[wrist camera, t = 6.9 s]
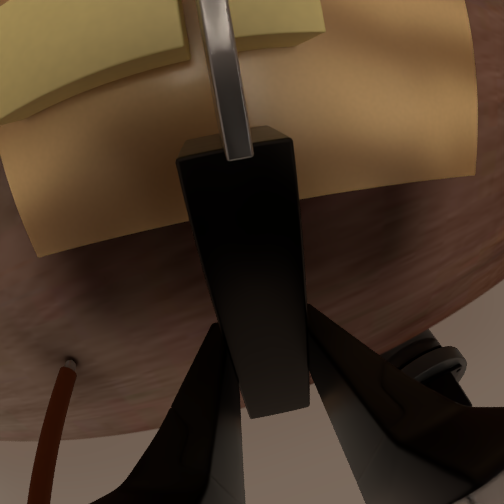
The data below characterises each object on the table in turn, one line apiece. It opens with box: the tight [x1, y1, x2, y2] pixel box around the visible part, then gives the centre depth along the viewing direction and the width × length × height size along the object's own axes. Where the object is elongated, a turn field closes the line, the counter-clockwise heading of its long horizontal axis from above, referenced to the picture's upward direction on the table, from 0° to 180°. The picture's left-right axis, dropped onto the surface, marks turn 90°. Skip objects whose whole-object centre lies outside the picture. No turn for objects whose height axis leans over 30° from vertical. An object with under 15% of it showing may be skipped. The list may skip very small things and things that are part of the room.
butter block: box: [0, 0, 191, 126], centre depth 6 cm, size 4×7×3 cm, turn 98°
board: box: [0, 0, 478, 258], centre depth 9 cm, size 14×22×1 cm, turn 99°
